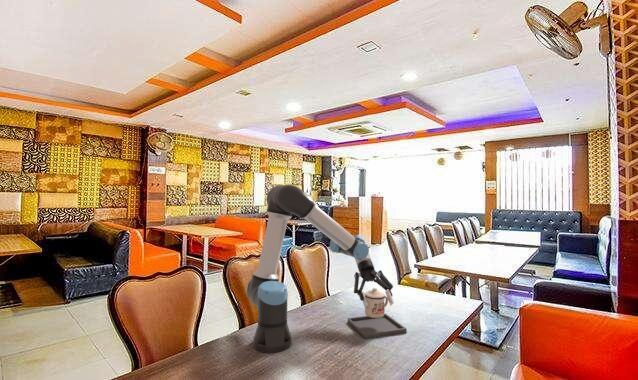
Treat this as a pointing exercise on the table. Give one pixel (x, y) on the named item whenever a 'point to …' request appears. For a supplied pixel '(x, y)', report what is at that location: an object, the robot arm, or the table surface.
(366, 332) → the tea tray
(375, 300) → the teacup with lid
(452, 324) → the table surface
